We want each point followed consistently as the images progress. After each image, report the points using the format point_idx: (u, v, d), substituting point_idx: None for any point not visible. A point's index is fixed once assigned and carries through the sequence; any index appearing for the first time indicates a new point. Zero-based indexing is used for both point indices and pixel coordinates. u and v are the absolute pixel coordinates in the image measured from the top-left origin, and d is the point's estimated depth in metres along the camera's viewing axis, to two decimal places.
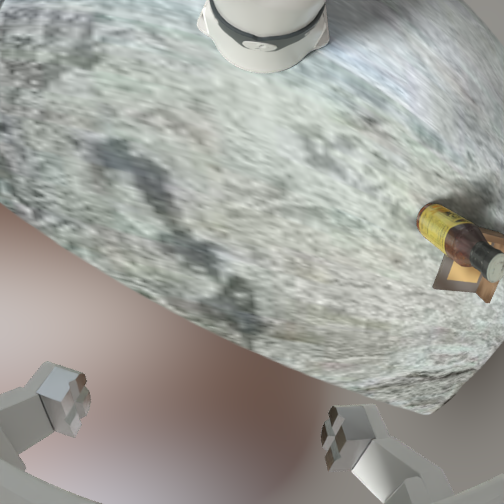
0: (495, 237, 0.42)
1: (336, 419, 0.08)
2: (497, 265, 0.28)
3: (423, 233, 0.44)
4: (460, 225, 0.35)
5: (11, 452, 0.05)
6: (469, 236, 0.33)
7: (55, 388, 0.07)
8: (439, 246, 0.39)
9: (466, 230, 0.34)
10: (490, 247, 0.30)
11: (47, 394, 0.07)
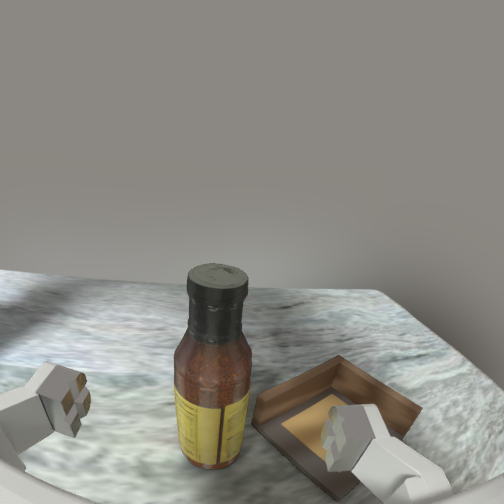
0: (307, 372, 0.34)
1: (336, 419, 0.08)
2: (211, 272, 0.20)
3: (200, 456, 0.23)
4: None
5: (11, 452, 0.05)
6: None
7: (55, 388, 0.07)
8: (200, 421, 0.21)
9: None
10: None
11: (47, 394, 0.07)
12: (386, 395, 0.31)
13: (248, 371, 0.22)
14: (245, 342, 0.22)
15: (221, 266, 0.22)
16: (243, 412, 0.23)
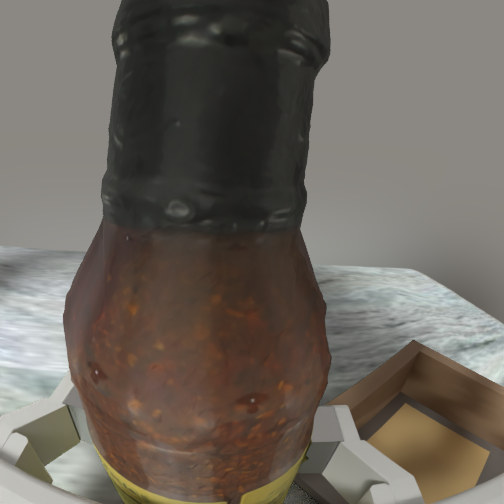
0: (379, 370, 0.18)
1: None
2: None
3: None
4: None
5: (39, 466, 0.05)
6: None
7: None
8: None
9: None
10: None
11: (75, 404, 0.07)
12: (495, 396, 0.15)
13: (327, 371, 0.06)
14: (310, 267, 0.07)
15: None
16: (290, 485, 0.07)
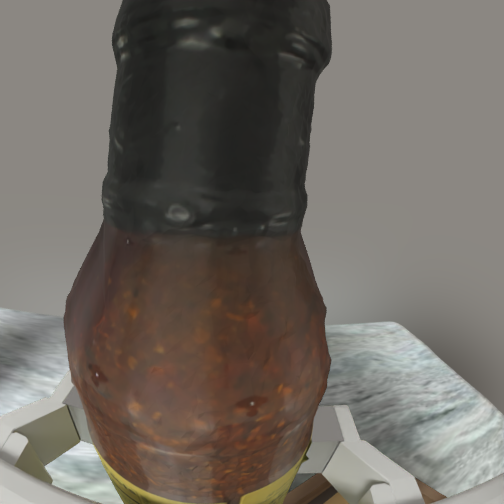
0: None
1: None
2: None
3: None
4: None
5: (39, 466, 0.05)
6: None
7: None
8: None
9: None
10: None
11: (75, 404, 0.07)
12: None
13: (327, 374, 0.06)
14: (310, 270, 0.07)
15: None
16: (289, 487, 0.07)
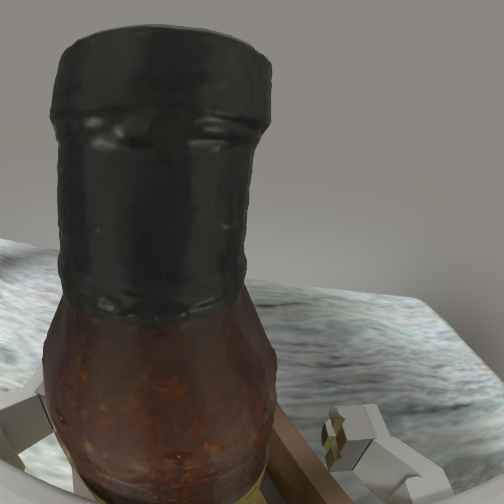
0: None
1: (337, 419, 0.08)
2: None
3: None
4: None
5: (10, 452, 0.05)
6: None
7: None
8: None
9: None
10: None
11: None
12: None
13: (267, 427, 0.06)
14: (258, 329, 0.07)
15: None
16: None
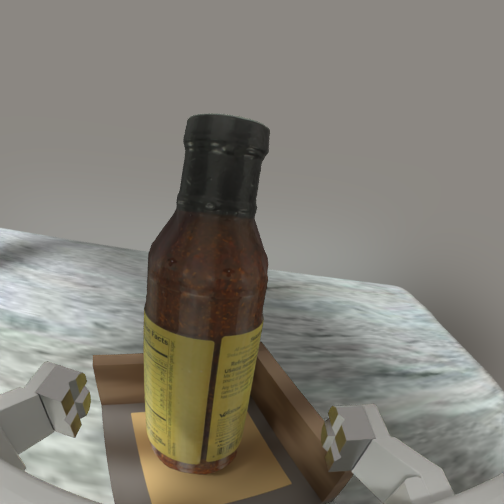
0: None
1: (336, 419, 0.08)
2: None
3: (175, 446, 0.14)
4: None
5: (11, 452, 0.05)
6: None
7: (55, 388, 0.07)
8: (178, 369, 0.13)
9: None
10: None
11: (47, 394, 0.07)
12: (301, 422, 0.17)
13: (264, 281, 0.14)
14: (260, 240, 0.15)
15: None
16: (250, 366, 0.15)
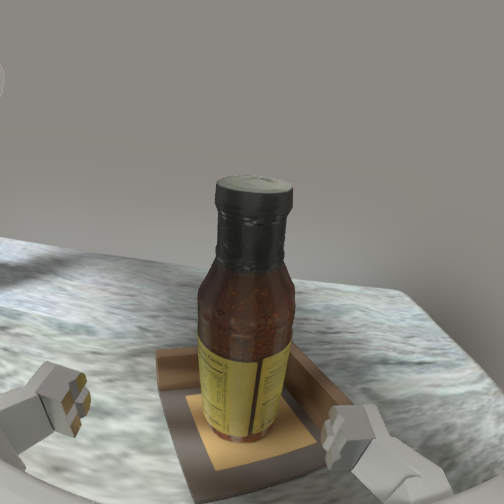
0: None
1: (336, 419, 0.08)
2: (245, 181, 0.16)
3: (228, 426, 0.20)
4: None
5: (11, 452, 0.05)
6: None
7: (55, 388, 0.07)
8: (230, 380, 0.18)
9: None
10: None
11: (47, 394, 0.07)
12: (323, 391, 0.24)
13: (292, 312, 0.18)
14: (287, 275, 0.18)
15: (257, 177, 0.17)
16: (283, 368, 0.19)
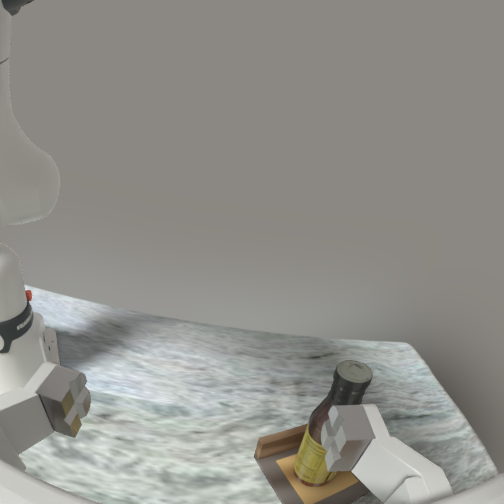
0: (305, 425, 0.39)
1: (336, 419, 0.08)
2: (350, 369, 0.29)
3: (315, 478, 0.31)
4: (310, 418, 0.32)
5: (11, 452, 0.05)
6: (320, 408, 0.31)
7: (55, 388, 0.07)
8: None
9: (315, 412, 0.32)
10: None
11: (47, 394, 0.07)
12: None
13: None
14: None
15: (352, 362, 0.30)
16: None
